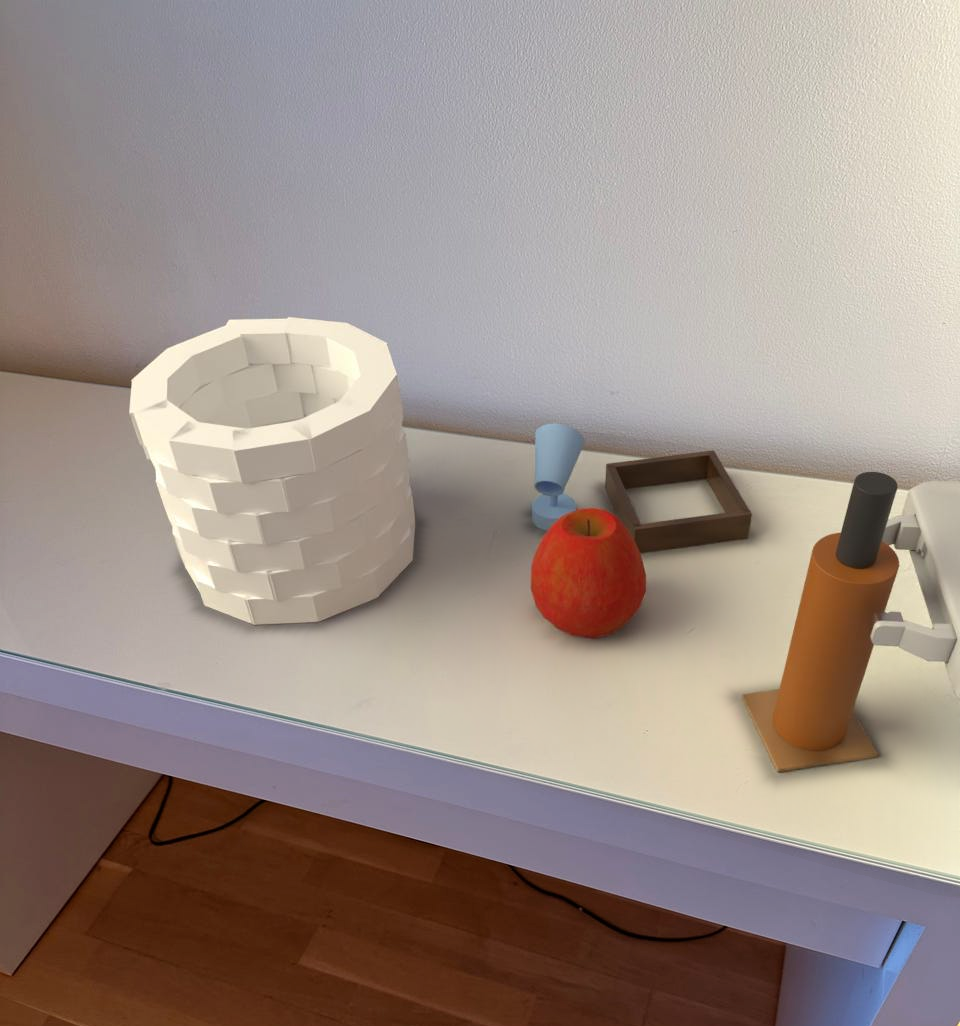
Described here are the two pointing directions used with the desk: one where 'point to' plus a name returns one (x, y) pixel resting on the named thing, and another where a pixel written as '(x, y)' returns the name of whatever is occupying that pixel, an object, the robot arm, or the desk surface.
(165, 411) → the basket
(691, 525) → the square frame
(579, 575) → the apple
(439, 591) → the desk surface
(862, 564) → the bottle
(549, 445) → the spotlight
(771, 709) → the coaster
